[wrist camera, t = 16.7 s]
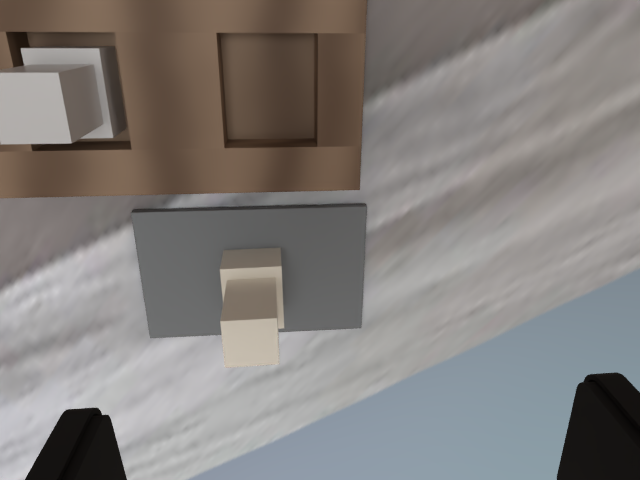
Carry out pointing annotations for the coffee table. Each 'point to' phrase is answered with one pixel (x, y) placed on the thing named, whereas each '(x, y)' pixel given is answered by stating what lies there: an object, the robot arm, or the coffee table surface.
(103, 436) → the robot arm
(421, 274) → the coffee table surface
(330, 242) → the mat
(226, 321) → the ivory plug
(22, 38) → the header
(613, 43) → the coffee table surface
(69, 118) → the grey plug
